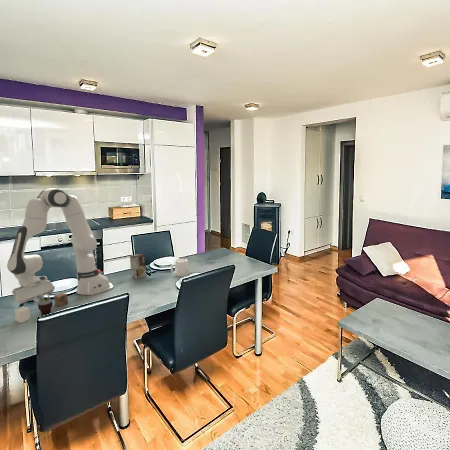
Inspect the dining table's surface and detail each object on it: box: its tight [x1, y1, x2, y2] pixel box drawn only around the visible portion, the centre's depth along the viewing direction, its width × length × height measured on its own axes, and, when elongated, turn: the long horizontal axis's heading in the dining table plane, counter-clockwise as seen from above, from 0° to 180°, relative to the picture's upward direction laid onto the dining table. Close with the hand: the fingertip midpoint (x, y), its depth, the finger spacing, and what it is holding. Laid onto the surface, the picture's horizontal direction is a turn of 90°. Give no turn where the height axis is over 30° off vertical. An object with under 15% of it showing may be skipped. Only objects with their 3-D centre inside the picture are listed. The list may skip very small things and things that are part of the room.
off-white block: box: [14, 306, 31, 323], centre depth 170 cm, size 5×5×6 cm
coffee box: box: [129, 253, 147, 279], centre depth 235 cm, size 9×6×16 cm
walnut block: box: [53, 292, 69, 307], centre depth 189 cm, size 5×5×6 cm
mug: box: [170, 258, 190, 277], centre depth 238 cm, size 14×10×11 cm
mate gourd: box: [37, 285, 56, 317], centre depth 176 cm, size 8×8×15 cm
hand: (41, 303), depth 179 cm, fingers closed
